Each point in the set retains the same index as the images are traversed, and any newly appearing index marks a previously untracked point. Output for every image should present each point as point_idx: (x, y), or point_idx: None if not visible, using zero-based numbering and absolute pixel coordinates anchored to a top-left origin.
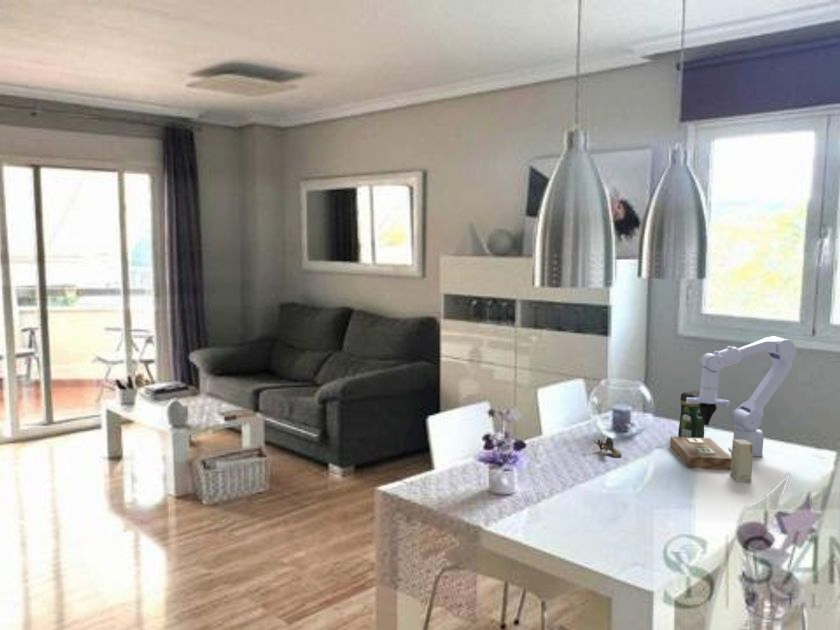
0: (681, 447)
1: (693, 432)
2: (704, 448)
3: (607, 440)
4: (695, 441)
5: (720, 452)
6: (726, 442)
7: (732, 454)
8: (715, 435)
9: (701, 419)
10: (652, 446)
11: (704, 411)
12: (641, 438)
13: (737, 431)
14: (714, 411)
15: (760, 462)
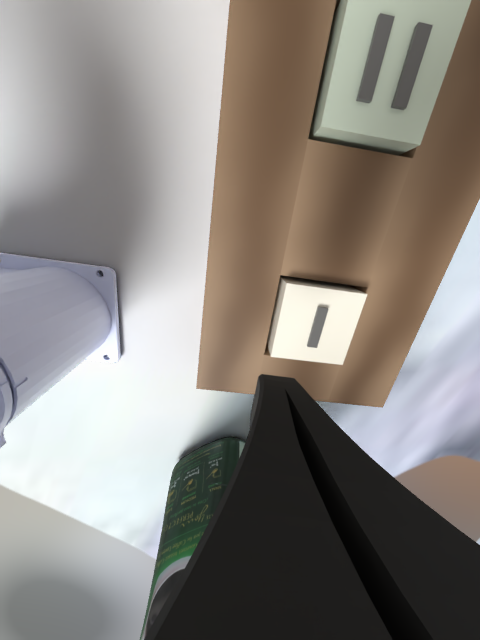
0: (472, 206)
1: (230, 468)
2: (368, 126)
3: None
4: (331, 301)
5: (267, 69)
6: (102, 432)
7: None
8: (118, 493)
9: (180, 549)
10: (422, 380)
11: (459, 550)
12: (398, 458)
13: (8, 344)
14: (203, 550)
15: (12, 149)
